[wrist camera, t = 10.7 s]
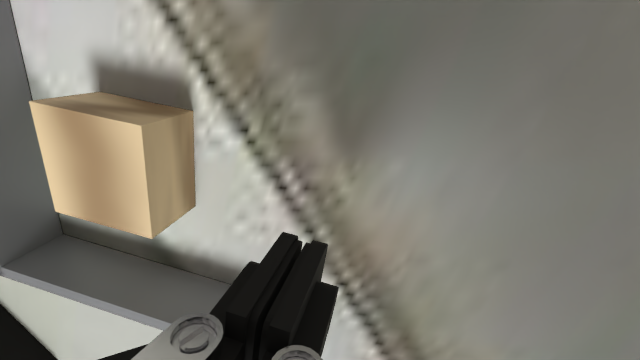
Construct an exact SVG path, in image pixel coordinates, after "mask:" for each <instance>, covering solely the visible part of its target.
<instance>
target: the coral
mask: <svg viewBox="0 0 640 360" xmlns="http://www.w3.org/2000/svg"><path fill="white" fill-rule="evenodd" d="M0 360H57V359H56V358H55V357H54V356H53V355H52V354H51V353H50V352H49V351H48V350H46V349H45V347H44V346H43V345H42V344H40V343H39V342H38V341H37V340H36V339H35V338H34V337H33V336H32V335H31V334H30V333H29V332H28V331H27V330H26V329H25V328H24V327H23V326H22V325H21V324H20V323H19V322H18V321H17V320H16V319H15V318H14V317H12V316H11V314H10V313H8V311H7V310H6V309H5V308H4V307H3V306H2V305H1V304H0Z"/></svg>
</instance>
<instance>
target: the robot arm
mask: <svg viewBox="0 0 640 360" xmlns="http://www.w3.org/2000/svg"><path fill="white" fill-rule="evenodd" d="M327 247H328V244H325V243H321V242H318V241H314V240H313V241H312V243H311V244H310V243H306V244H305V245H304V247H303V249H302V241H299V240H298V236H296V235H293V234H289V233H285V232H282V234H281V235H280V236H279V238H278V239H277V240H276V242H275V243H274V245H273V246H272V247H271V249H270V250H269V252H268V253H267V254H266V256H265V257H264V259H263V260H262V261H261V263H256V262H253V261H251V262H249V263H248V264H247V265H246V267H245V268H244V269H243V270H242V272H241V273H240V274H239V276H238V277H237V278H236V279H235V281H234V282H233V283H232V285H231V286H230V287H229V288H228V290H227V291H226V292H225V294H224V295H223V296H222V297H221V299H220V300H219V301H218V303H217V304H216V305H215V306H214V308H213V309H212V310H211V312H210V313H209V314H207V313H192V314H188V315H185V316H183V317H180V318H179V319H178V320H176V321H175V322H173V323H172V324H171V325H170V326H169V327H167V328H166V329H165V330H164V331H163V332H162V333H161V334H160V335H158V336H157V337H156V338H155V339H154V340H153V341H152V342H150V343H149V344H147V345H144V346H140V347H137V348H134V349H131V350H127V351H124V352H121V353H118V354H115V355H111V356H108V357H105V358H102V359H98V360H323V359H322V358H321V355H322V352H323V348H324V344H325V341H326V337H327V334H328V330H329V326H330V322H331V319H332V315H333V310H334V306H335V302H336V298H337V293H338V288H339V287H337V286H333V285H330V284H327V283H323V282H321V278H322V273H323V268H324V263H325V258H326V253H327ZM301 249H302V251H301Z"/></svg>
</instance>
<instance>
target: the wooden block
mask: <svg viewBox="0 0 640 360" xmlns="http://www.w3.org/2000/svg"><path fill="white" fill-rule="evenodd" d="M29 104H30V108H31V112H32V117H33V121H34V125H35V129H36V133H37V137H38V142H39V146H40V150H41V154H42V158H43V162H44V167H45V171H46V175H47V179H48V183H49V187H50V192H51V196H52V200H53V204H54V208H55V212H59V213H62V214H66V215H69V216H73V217H76V218H80V219H83V220H87V221H90V222H94V223H97V224H101V225H105V226H108V227H112V228H115V229H119V230H122V231H126V232H129V233H133V234H136V235H140V236H143V237H147V238H151V239H153V238H154V237H155V236H157V235H158V234H159V233H161V232H162V231H163V230H165V229H166V228H167V227H168V226H170V225H171V224H172V223H174V222H175V221H176V220H178V219H179V218H180V217H182V216H183V215H184V214H186V213H187V212H188V211H190V210H191V209H192V208H194V207H195V167H194V127H193V111H190V110H186V109H181V108H176V107H171V106H166V105H161V104H157V103H152V102H147V101H142V100H137V99H132V98H127V97H123V96H118V95H113V94H108V93H103V92H94V93H86V94H79V95H71V96H64V97H56V98H48V99H41V100H33V101H29Z"/></svg>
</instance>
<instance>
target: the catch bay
mask: <svg viewBox="0 0 640 360" xmlns="http://www.w3.org/2000/svg"><path fill="white" fill-rule="evenodd" d="M29 101H32V98H31V94H30V90H29V85H28V81H27V77H26V72H25V68H24V64H23V59H22V55H21V51H20V46H19V42H18V37H17V33H16V29H15V24H14V20H13V16H12V11H11V7H10V3H9V0H0V276H3V277H6V278H9V279H12V280H15V281H18V282H21V283H24V284H27V285H30V286H33V287H36V288H39V289H42V290H44V291H47V292H50V293H53V294H56V295H59V296H62V297H65V298H68V299H71V300H74V301H77V302H80V303H83V304H86V305H89V306H92V307H95V308H98V309H101V310H104V311H107V312H110V313H113V314H116V315H119V316H122V317H124V318H127V319H130V320H133V321H136V322H139V323H142V324H145V325H148V326H151V327H154V328H157V329H160V330H163V331H164V330H165V329H166V328H167V327H169V326H170V325H171V324H172V323H173V322H175V321H176V320H178V319H179V318H180V317H183V316H185V315H188V314H192V313H207V314H209V313H210V312H211V310H212V309H213V308H214V306H215V305H216V304H217V303H218V301H219V300H220V299H221V297H222V296H223V295H224V294H225V292H226V291H227V290H228V288H229V287H230V286H231V285H230V284H227V283H223V282H220V281H217V280H213V279H210V278H207V277H203V276H200V275H197V274H193V273H190V272H187V271H183V270H180V269H177V268H173V267H170V266H167V265H164V264H160V263H157V262H154V261H150V260H147V259H144V258H140V257H137V256H134V255H130V254H127V253H124V252H120V251H117V250H114V249H110V248H107V247H104V246H100V245H97V244H94V243H90V242H87V241H84V240H80V239H77V238H74V237H70V236H67V235H64V234H63V233H62V229H61V225H60V220H59V216H58V212H55V208H54V204H53V200H52V196H51V192H50V187H49V183H48V179H47V175H46V171H45V167H44V162H43V158H42V154H41V150H40V146H39V142H38V137H37V133H36V129H35V125H34V121H33V117H32V112H31V108H30V104H29Z"/></svg>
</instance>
